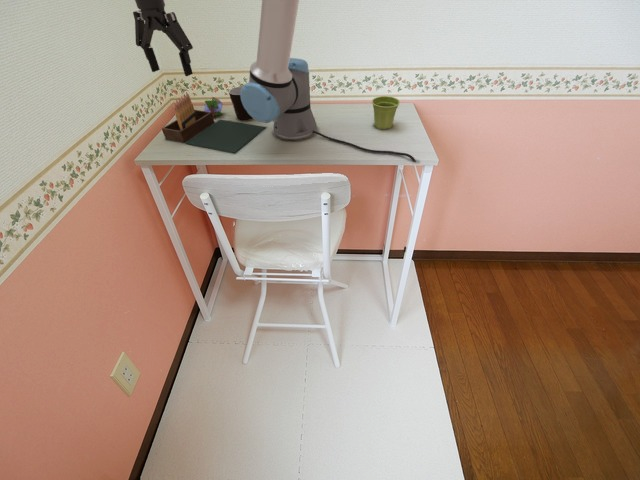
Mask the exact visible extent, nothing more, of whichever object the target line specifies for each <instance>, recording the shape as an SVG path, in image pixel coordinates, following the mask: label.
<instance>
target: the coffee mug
mask: <svg viewBox="0 0 640 480" xmlns="http://www.w3.org/2000/svg"><path fill="white" fill-rule="evenodd" d="M243 87H244V85H243V86H236V87H232V88H230V89H229V90H228V94H229V98H230V101H231V104H232V106H233V107H232V108H233V110H234V113H235V116H236V120H238V121H239V122H249V121H251V120H254V118H252V117H251V116H250V115H249V114H248V113H247V111H246V109H245V108H244V107H243V104H242V101H241V90H242V88H243Z"/></svg>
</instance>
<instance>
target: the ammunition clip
mask: <svg viewBox="0 0 640 480" xmlns="http://www.w3.org/2000/svg"><path fill="white" fill-rule="evenodd" d="M172 102H173V103H172V104H173V106H172V107H173V110H174V114H175V118H176V120H177V121H178V123H177V124H178V127H179V130H180V131H181V130H183V129H184V128H186V127H188V126H189V125H191V124H192V123H194V122H196V121H197V120H198V117H197V114H196V111H195V110H196V109H195V108H194V107H195V106H194V104H193V102H192V99H191V97H190V94H189V93H188V92H185V93H184V94H183V95H181V96H180V97H178V99H175V101H172Z"/></svg>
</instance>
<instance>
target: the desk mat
mask: <svg viewBox="0 0 640 480" xmlns="http://www.w3.org/2000/svg"><path fill="white" fill-rule="evenodd" d="M265 129H266V126H263V125H256V124H251V123H243V122H239V121H232V120H225V119H219V120H217V121H216V122H214V123H213V124H212V125H210V126H209V127H207V128H206V129H204V130H203V131H201V132H200V133H198V134H197V135H195V136H194V137H192V138H191V139H189V140H188V141H186V142H185V145H188V146H194V147H199V148H205V149H210V150H215V151H218V152H219V151H220V152H225V153H229V154H233V155H234V154H236V153H238V152H239V151H240V150H241V149H242V148H243V147H245V146H246V145H247V144H248V143H250V142H251V141H252V140H253V139H254V138H255V137H257V136H258V135H259V134H260V133H261V132H263V131H264V130H265Z"/></svg>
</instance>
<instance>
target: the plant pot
mask: <svg viewBox="0 0 640 480" xmlns="http://www.w3.org/2000/svg"><path fill="white" fill-rule="evenodd" d="M371 104H372V107H373V122H374V124H373V125H374V127H375V128H376V129H377V130H389V129H391V128H392V127H393V124H394V119H395V115H396V114H397V113H396V112H397V110H398V107H399V106H400V104H401V101H400V99H398V98H397V97H394V96H388V95H383V96H377V97H374V98H372V100H371Z"/></svg>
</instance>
